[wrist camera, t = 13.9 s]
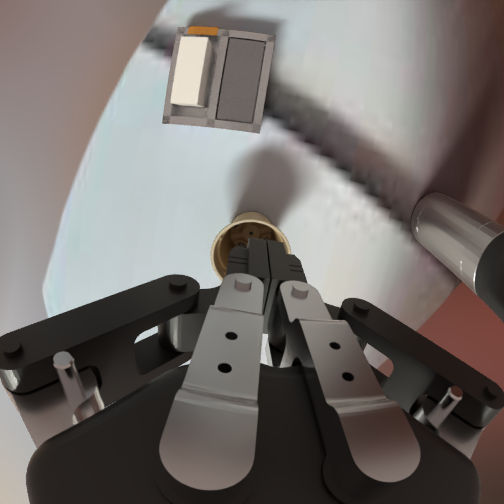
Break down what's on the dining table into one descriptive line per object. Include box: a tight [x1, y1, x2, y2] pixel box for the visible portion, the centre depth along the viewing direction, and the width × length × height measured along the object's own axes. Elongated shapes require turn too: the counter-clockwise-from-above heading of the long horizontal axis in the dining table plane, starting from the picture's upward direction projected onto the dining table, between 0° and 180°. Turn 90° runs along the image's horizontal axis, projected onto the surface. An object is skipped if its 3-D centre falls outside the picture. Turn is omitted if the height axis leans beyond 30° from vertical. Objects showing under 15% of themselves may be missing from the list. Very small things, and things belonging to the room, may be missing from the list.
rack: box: [162, 26, 275, 134], centre depth 32 cm, size 12×13×4 cm
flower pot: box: [211, 212, 291, 281], centre depth 39 cm, size 9×9×9 cm
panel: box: [170, 37, 215, 108], centre depth 30 cm, size 3×8×7 cm, turn 172°
